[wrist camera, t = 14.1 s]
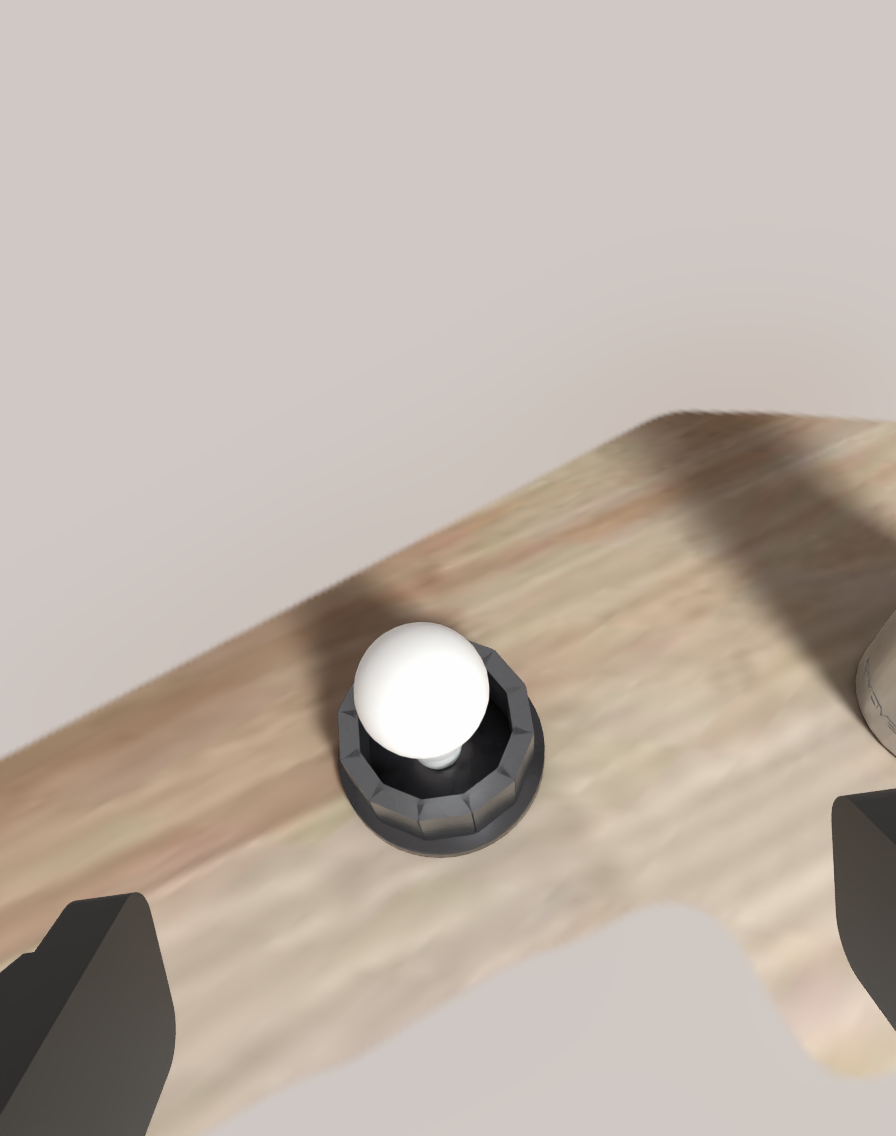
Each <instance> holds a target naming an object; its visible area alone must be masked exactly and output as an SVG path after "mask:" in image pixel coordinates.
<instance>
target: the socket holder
mask: <svg viewBox="0 0 896 1136" xmlns="http://www.w3.org/2000/svg"><path fill="white" fill-rule="evenodd" d="M469 642H470V643H471V644H472V645H473V647H474V648H475V650H476V651H477V653H478V654H479V656H480V657H481V659H482V660H483V663H484V665H485V668H486V670H487V676H488V682H489V701H488V705H487V708H486V712H485V714H484V717H483V719H482V721H481V723H480V725H479V727H478V728H477V730H476V731H475V732H474V734H473V735H472V736H471V737H470V738H469V739H468V740H467V741H466V742H465V743H464V744H463V745H462V747H461V753H460V755H459V757H458V759H457V760H456V761H455V762H454V763H453V764H452V765H450V766H449V767H447V768H444V769H430V768H428V767H425V766H424V765H423V764H421V763H420V762H419V760H418V759H416V758H408V757H404V756H400V755H398V754H396V753H393V752H391V751H389V750H387V749H386V748H384V747H383V746H382V745H380V744H379V743H378V742H376V741H375V740H374V739H373V738H372V737H371V736H370V735H369V733H368V732H367V731H366V730H365V728H364V726H363V724H362V722H361V721H360V719H359V716H358V714H357V710H356V707H355V703H354V682H353V684H352V685H351V687H350V689H349V691H348V693H347V695H346V697H345V699H344V701H343V703H342V705H341V706H340V708H339V710H338V725H339V770H340V776H341V780H342V784H343V787H344V790H345V792H346V795H347V797H348V799H349V801H350V803H351V805H352V806H353V808H354V810H355V811H356V813H357V815H358V816H359V818H360V819H361V820H362V821H363V823H364V824H365V825H366V826H367V827H368V828H369V829H370V830H371V831H372V832H373V833H374V834H375V835H376V836H378V837H379V838H380V839H382V840H383V841H385V842H386V843H388V844H390V845H391V846H393V847H395V848H397V849H399V850H402V851H405V852H408V853H411V854H414V855H419V856H424V857H435V858H445V857H456V856H461V855H465V854H469V853H472V852H475V851H478V850H481V849H483V848H485V847H487V846H489V845H491V844H493V843H495V842H496V841H498V840H499V839H500V838H502V837H503V836H505V835H506V834H507V833H508V832H509V831H511V830H512V829H513V828H514V827H515V826H516V825H517V824H518V823H519V821H520V820H521V819H522V818H523V817H524V815H525V814H526V813H527V811H528V809H529V808H530V806H531V805H532V803H533V801H534V799H535V797H536V794H537V792H538V790H539V786H540V783H541V780H542V775H543V768H544V747H545V745H544V737H543V731H542V727H541V723H540V719H539V717H538V715H537V712H536V710H535V708H534V706H533V704H532V702H531V701H530V699H529V697H528V695H527V690H526V686H525V684H524V683H523V682H522V680H521V679H520V678H519V677H518V676H517V675H516V674H515V673H514V671H513V670H512V669H511V668H510V667H509V666H508V665H507V664H506V662H505V661H504V660H503V659H502V658H501V657H500V656H499V655H498V653H497V652H496V651H495V650H494V649H491V648H488V647H485V646H482V645H479V644H477V643H474V642H471V641H469ZM354 681H355V680H354Z"/></svg>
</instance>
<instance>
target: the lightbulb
mask: <svg viewBox="0 0 896 1136" xmlns="http://www.w3.org/2000/svg"><path fill="white" fill-rule="evenodd" d="M488 701H489V682H488V676H487V670H486V668H485V665H484V663H483V660H482V659H481V657H480V656H479V654H478V653H477V651H476V650H475V648H474V647H473V645H472V644H471V643H470V642H469V641H468V640H467V639H466V638H465V637H463V636H462V635H460V634H459V633H457V632H456V631H454V630H452V629H451V628H448V627H446V626H443V625H441V624H436V623H431V622H415V623H408V624H404V625H401V626H398V627H395V628H393V629H391V630H389V631H387V632H386V633H384V634H383V635H381V636H380V637H379V638H377V639H376V640H375V641H374V642H373V643H372V644H371V646H370V647H369V648H368V649H367V650H366V652H365V654H364V655H363V657H362V659H361V661H360V663H359V666H358V669H357V672H356V674H355V681H354V703H355V707H356V710H357V714H358V716H359V719H360V721H361V722H362V724H363V726H364V728H365V730H366V731H367V732H368V733H369V735H370V736H371V737H372V738H373V739H374V740H375V741H376V742H378V743H379V744H380V745H382V746H383V747H384V748H386V749H387V750H389V751H391V752H393V753H396V754H398V755H400V756H404V757H408V758H416V759H418V760H419V762H420V763H421V764H423V765H424V766H425V767H428V768H430V769H444V768H447V767H449V766H450V765H452V764H453V763H454V762H455V761H456V760H457V759H458V757H459V755H460V753H461V747H462V745H463V744H464V743H465V742H466V741H467V740H468V739H469V738H470V737H471V736H472V735H473V734H474V732H475V731H476V730H477V728H478V727H479V725H480V723H481V721H482V719H483V717H484V714H485V712H486V708H487V705H488Z"/></svg>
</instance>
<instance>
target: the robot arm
mask: <svg viewBox="0 0 896 1136" xmlns="http://www.w3.org/2000/svg"><path fill="white" fill-rule="evenodd" d="M855 680H856V696H857V699H858V703H859V706H860V710H861V713H862V714H863V716H864V718H865V720H866V722H867V724H868V726H869V728H870V729H871V730H872V732H873V733H874V734H875V735H876V737H877V738H878V739H879V740H880V742H881V743H882V744H883V745H884V746H885V747H886V748H887V749H888V750H889V751H891V752H892V753H893V754H894V755H895V756H896V610H895V611H894V612H893V614H892V615H891V616H890V617H889V619H888V620H887V622H886V623H885V624H884V626H883V627H882V628H881V630H880V631H879V633H878V634H877V635H876V637H875V638H874V639H873V641H872V642H871V644H870V645H869V646H868V648H867V649H866V650H865V652H864V654H863V656H862V658H861V660H860V662H859V664H858V669H857V674H856V679H855ZM832 840H833V861H834V881H835V902H836V919H837V926H838V931H839V935H840V939H841V942H842V946H843V949H844V952H845V954H846V957H847V959H848V961H849V964H850V966H851V968H852V970H853V971H854V973H855V975H856V976H857V978H858V979H859V981H860V982H861V984H862V985H863V986H864V988H865V989H866V991H867V992H868V993H869V995H870V996H871V997H872V999H873V1000H874V1002H875V1003H876V1004H877V1006H878V1007H879V1009H880V1010H881V1011H882V1013H883V1014H884V1016H885V1017H886V1018H887V1020H888V1021H889V1022H890V1024H891V1025H892V1027H893V1028H894V1029H895V1031H896V789H888V790H881V791H874V792H867V793H860V794H852V795H845V796H839V797H837V798H836V799H835V801H834V803H833V807H832ZM175 1035H176V1024H175V1012H174V1006H173V1001H172V997H171V993H170V989H169V985H168V981H167V977H166V973H165V968H164V964H163V960H162V956H161V952H160V948H159V944H158V940H157V935H156V931H155V927H154V923H153V919H152V915H151V911H150V908H149V905H148V903H147V901H146V899H145V897H144V896H143V895H142V894H140V893H137V892H135V893H128V894H120V895H113V896H106V897H99V898H92V899H85V900H77V901H73V902H71V903H70V904H68V905H67V906H66V908H65V909H64V910H63V912H62V913H61V914H60V916H59V917H58V919H57V920H56V922H55V923H54V924H53V926H52V927H51V929H50V930H49V932H48V933H47V935H46V936H45V937H44V939H43V940H42V942H41V943H40V945H39V946H38V947H37V949H36V950H35V952H32V953H25V954H22V955H21V956H20V957H19V958H18V959H16V960H15V961H14V962H13V963H11V964H10V965H9V966H8V967H7V968H5V969H4V970H3V971H2V972H1V973H0V1136H145V1134H146V1131H147V1129H148V1126H149V1123H150V1121H151V1118H152V1115H153V1113H154V1110H155V1108H156V1105H157V1102H158V1100H159V1097H160V1094H161V1092H162V1089H163V1086H164V1084H165V1081H166V1079H167V1076H168V1073H169V1070H170V1067H171V1064H172V1060H173V1054H174V1047H175Z"/></svg>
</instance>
